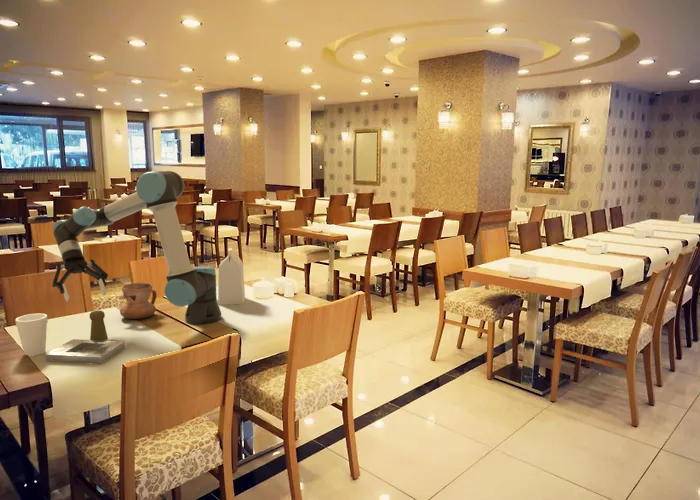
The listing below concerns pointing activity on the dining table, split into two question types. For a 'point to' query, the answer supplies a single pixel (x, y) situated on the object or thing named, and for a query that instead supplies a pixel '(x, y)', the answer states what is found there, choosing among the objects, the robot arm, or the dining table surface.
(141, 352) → the dining table surface
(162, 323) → the dining table surface
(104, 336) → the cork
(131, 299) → the ceramic jug
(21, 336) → the foam cup
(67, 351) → the plate
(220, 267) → the milk
